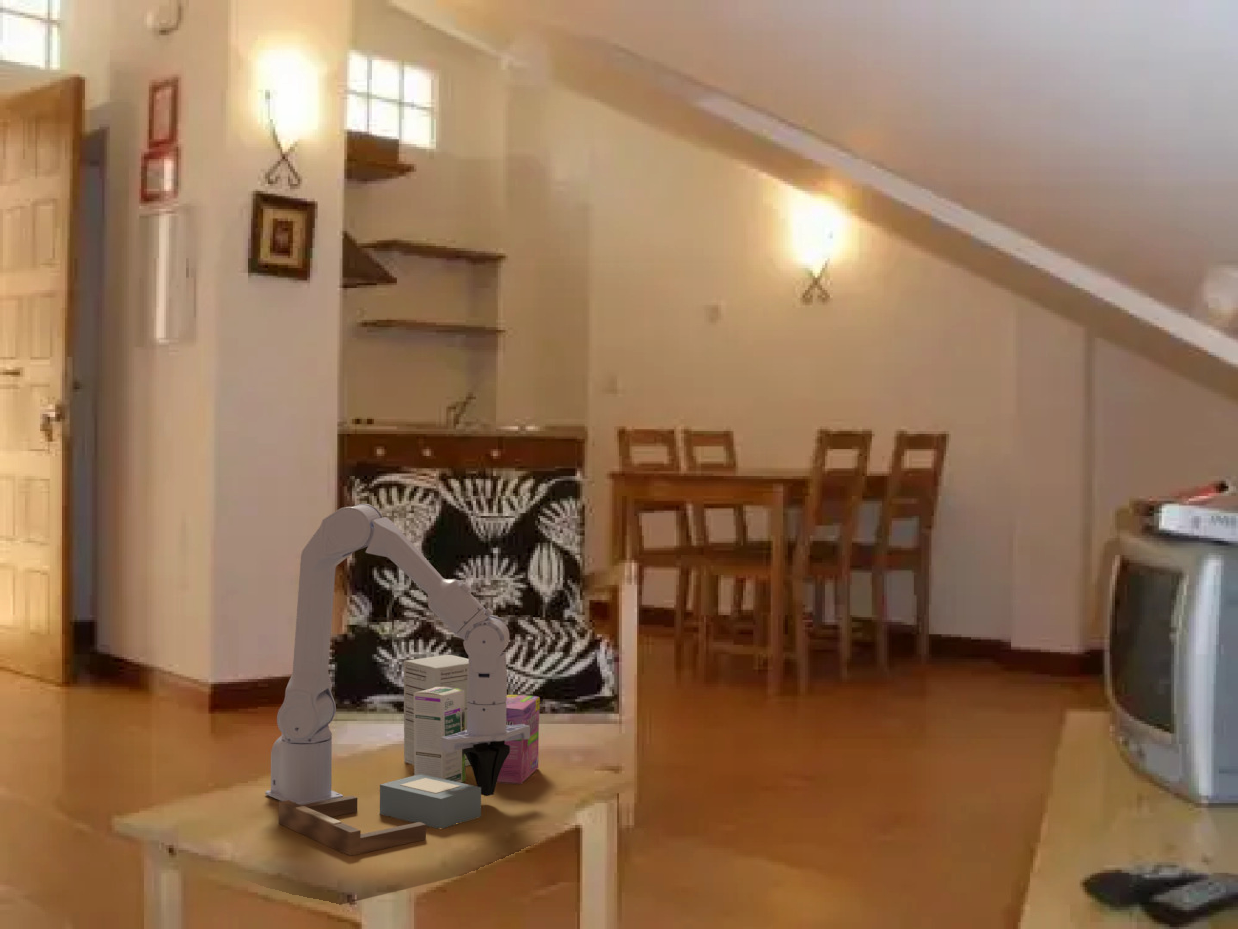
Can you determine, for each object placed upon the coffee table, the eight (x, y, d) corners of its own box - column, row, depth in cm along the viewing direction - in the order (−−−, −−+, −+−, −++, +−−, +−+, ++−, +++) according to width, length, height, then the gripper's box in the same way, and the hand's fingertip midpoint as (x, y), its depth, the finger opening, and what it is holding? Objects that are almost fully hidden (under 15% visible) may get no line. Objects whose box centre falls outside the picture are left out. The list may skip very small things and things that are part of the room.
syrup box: (443, 790, 215) (444, 694, 215) (412, 785, 218) (412, 690, 218) (465, 782, 220) (466, 688, 220) (434, 777, 223) (435, 685, 223)
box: (522, 785, 219) (522, 708, 219) (486, 782, 220) (487, 706, 220) (539, 769, 229) (540, 696, 229) (505, 767, 230) (505, 694, 230)
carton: (379, 816, 202) (379, 784, 202) (420, 804, 208) (420, 773, 208) (440, 831, 195) (441, 798, 194) (480, 819, 201) (481, 786, 201)
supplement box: (449, 753, 239) (450, 653, 239) (482, 763, 233) (483, 660, 232) (401, 762, 233) (402, 659, 232) (434, 772, 226) (435, 667, 226)
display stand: (278, 823, 196) (278, 800, 196) (351, 809, 204) (352, 787, 204) (350, 856, 182) (350, 831, 182) (425, 839, 190) (426, 815, 190)
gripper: (461, 711, 200) (460, 808, 200) (543, 699, 209) (542, 791, 210) (433, 704, 205) (432, 798, 205) (514, 692, 214) (513, 782, 215)
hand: (486, 794), depth 208 cm, fingers closed
